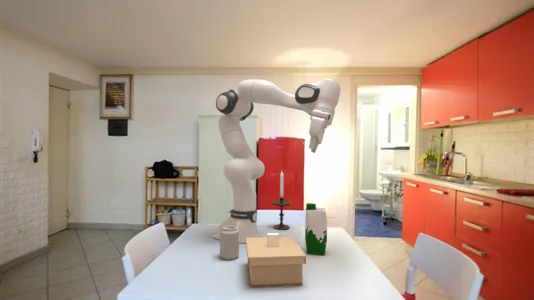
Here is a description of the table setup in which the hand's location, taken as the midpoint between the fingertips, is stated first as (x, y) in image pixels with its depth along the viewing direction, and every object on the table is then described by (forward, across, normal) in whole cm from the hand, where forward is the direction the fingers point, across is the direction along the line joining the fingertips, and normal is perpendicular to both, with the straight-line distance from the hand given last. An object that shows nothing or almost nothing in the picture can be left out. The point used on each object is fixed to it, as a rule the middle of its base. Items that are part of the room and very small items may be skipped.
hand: (311, 150), depth 108 cm
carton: (+46, +13, +1) cm, 48 cm away
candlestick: (+41, -46, -10) cm, 62 cm away
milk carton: (+40, -13, +12) cm, 43 cm away
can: (+50, +3, -19) cm, 54 cm away
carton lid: (+39, +14, -1) cm, 42 cm away
